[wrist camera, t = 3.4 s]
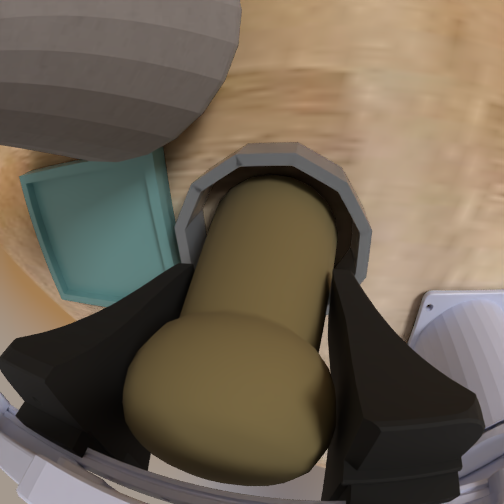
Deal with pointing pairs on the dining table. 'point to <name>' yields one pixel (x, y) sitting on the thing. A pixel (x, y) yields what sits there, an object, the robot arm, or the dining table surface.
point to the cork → (245, 345)
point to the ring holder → (275, 154)
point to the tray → (103, 225)
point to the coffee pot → (110, 72)
